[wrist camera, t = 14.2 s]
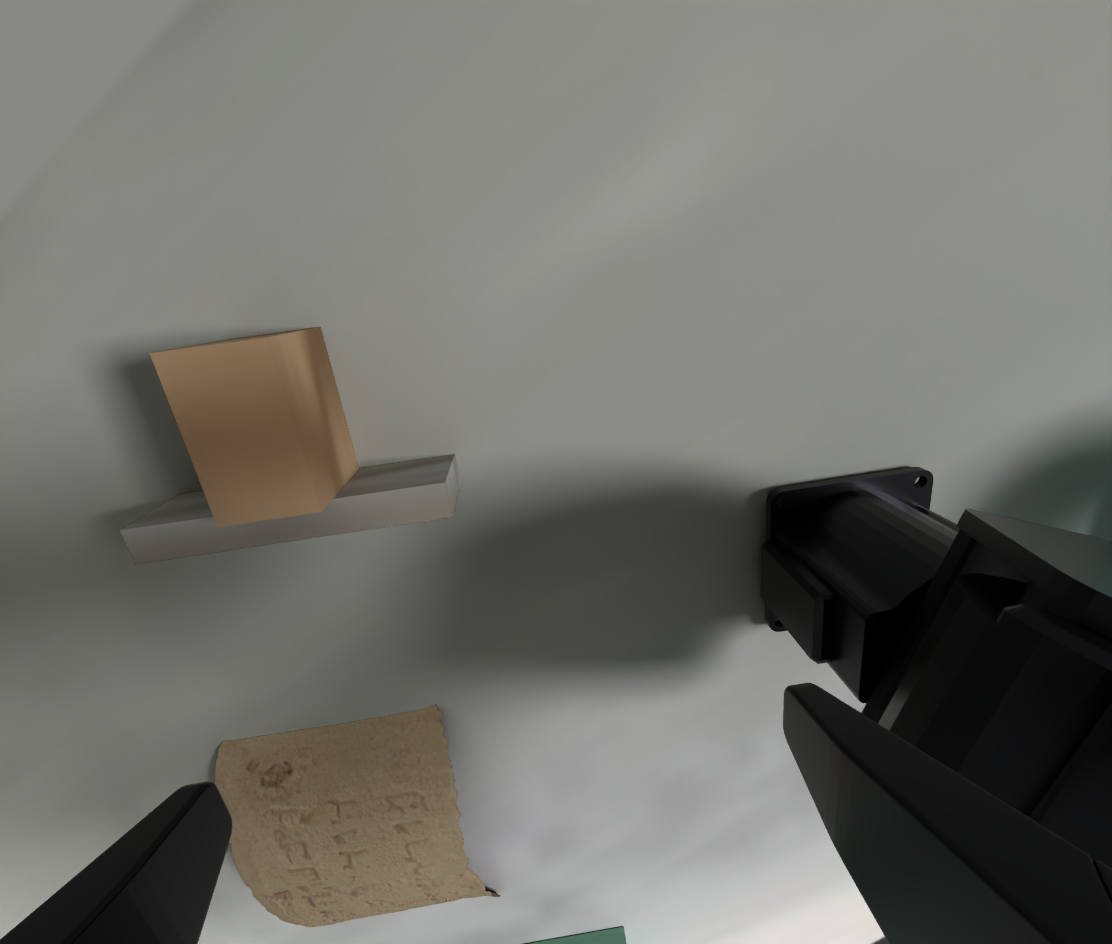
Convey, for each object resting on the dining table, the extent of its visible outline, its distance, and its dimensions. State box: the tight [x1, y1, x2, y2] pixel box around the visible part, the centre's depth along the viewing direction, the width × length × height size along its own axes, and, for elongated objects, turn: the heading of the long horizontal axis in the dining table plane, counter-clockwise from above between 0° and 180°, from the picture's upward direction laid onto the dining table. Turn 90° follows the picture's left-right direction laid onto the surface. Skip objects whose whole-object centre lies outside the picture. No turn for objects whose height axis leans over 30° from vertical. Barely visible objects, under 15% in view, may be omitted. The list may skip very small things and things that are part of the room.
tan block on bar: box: [120, 327, 461, 565], centre depth 16 cm, size 6×10×4 cm, turn 97°
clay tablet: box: [214, 704, 500, 927], centre depth 24 cm, size 14×10×3 cm
